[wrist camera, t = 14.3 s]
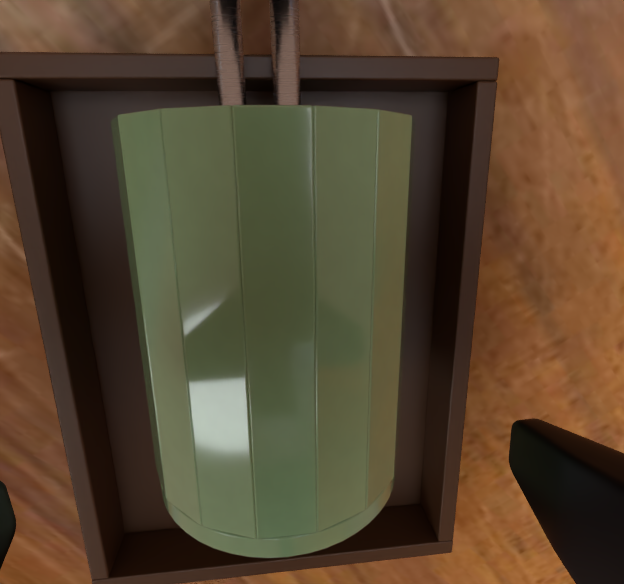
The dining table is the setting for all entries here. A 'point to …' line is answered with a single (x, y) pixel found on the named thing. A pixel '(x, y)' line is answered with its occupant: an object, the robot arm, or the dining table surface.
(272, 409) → the cup
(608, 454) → the robot arm
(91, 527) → the tray
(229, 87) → the black component with leads
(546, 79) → the dining table surface
